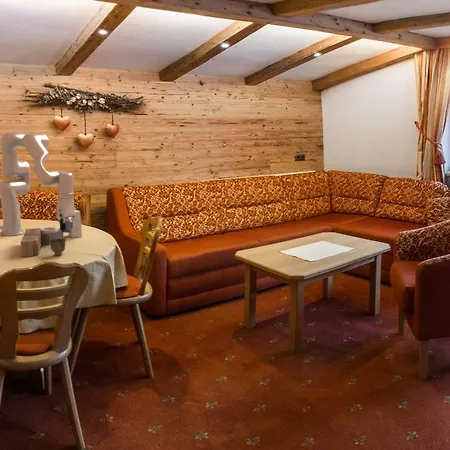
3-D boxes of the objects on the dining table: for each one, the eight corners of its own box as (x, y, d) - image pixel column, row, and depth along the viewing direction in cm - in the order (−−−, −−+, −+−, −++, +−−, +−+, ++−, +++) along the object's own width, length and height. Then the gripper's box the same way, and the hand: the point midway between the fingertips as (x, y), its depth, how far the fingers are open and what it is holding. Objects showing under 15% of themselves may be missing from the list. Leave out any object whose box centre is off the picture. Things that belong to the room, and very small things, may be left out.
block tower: (38, 257, 247) (42, 242, 275) (37, 240, 246) (41, 227, 273) (21, 258, 245) (26, 242, 273) (20, 241, 243) (25, 227, 271)
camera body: (35, 243, 273) (34, 230, 271) (50, 239, 284) (49, 226, 282) (49, 245, 270) (48, 231, 268) (63, 240, 281) (63, 227, 279)
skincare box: (82, 237, 290) (81, 211, 288) (71, 238, 287) (70, 212, 284) (77, 234, 297) (76, 209, 294) (67, 235, 294) (66, 210, 291)
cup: (52, 253, 253) (51, 237, 252) (67, 253, 254) (67, 237, 252) (48, 257, 246) (48, 241, 244) (64, 257, 247) (63, 241, 245)
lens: (59, 231, 270) (58, 216, 268) (65, 229, 275) (65, 215, 273) (68, 233, 268) (68, 218, 266) (74, 231, 273) (74, 216, 271)
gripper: (70, 193, 277) (70, 225, 281) (49, 197, 261) (50, 231, 265) (81, 194, 274) (81, 227, 278) (61, 198, 258) (61, 233, 262)
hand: (66, 228), depth 271 cm, fingers closed on lens, 5 cm apart
